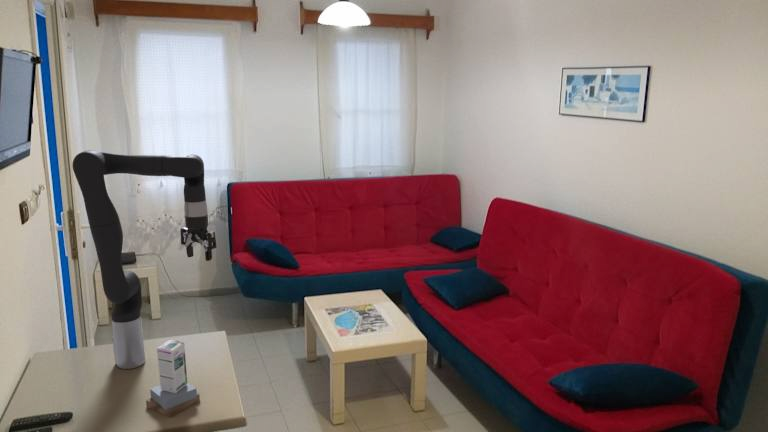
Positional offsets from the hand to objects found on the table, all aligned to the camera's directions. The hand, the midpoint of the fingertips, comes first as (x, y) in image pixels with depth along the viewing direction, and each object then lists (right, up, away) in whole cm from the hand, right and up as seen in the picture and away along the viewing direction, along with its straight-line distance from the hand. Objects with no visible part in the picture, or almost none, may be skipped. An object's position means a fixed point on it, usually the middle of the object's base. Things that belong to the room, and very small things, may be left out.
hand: (199, 258), depth 206 cm
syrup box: (0, -38, -25) cm, 45 cm away
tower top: (0, -41, -25) cm, 48 cm away
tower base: (0, -44, -24) cm, 50 cm away
